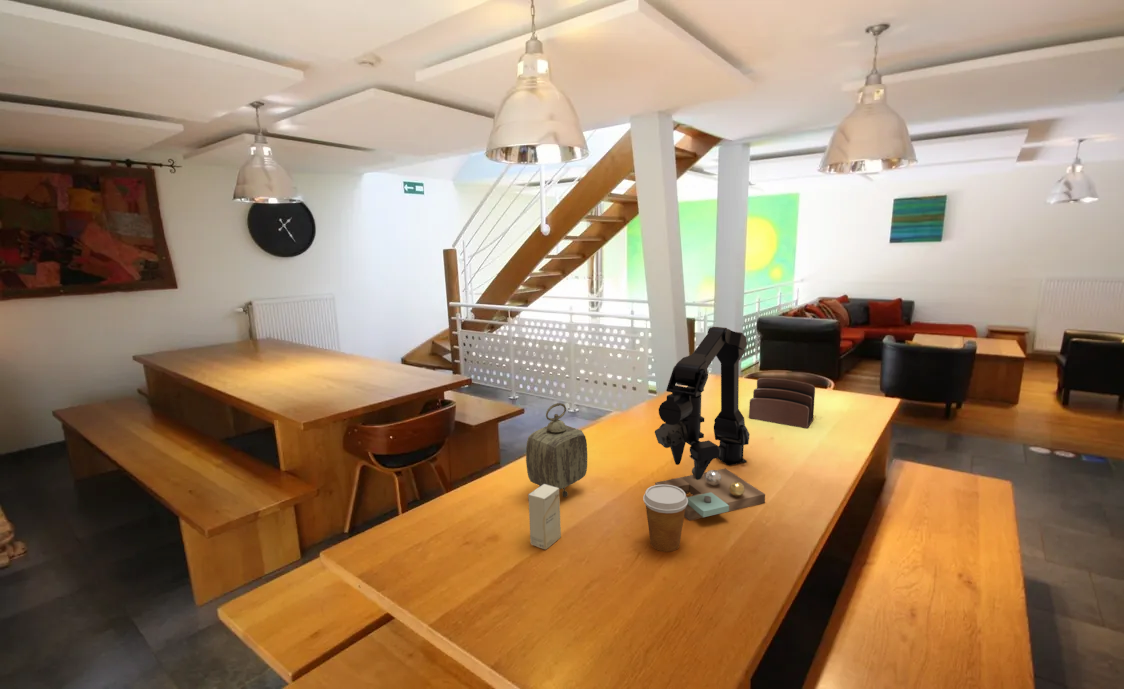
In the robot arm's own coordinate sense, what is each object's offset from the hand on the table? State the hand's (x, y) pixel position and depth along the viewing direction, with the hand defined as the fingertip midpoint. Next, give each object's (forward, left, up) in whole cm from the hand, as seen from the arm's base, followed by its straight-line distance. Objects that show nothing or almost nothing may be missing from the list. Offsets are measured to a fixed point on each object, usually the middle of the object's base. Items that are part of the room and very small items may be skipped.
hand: (687, 471), depth 133 cm
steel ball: (-8, -1, -4) cm, 9 cm away
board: (-6, 0, -8) cm, 10 cm away
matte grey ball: (-7, -6, -4) cm, 10 cm away
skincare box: (+39, +3, -8) cm, 40 cm away
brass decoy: (-10, +6, -4) cm, 13 cm away
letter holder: (-63, -37, -8) cm, 73 cm away
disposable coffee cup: (+15, +14, -8) cm, 22 cm away
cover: (0, +8, -5) cm, 10 cm away
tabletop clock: (+29, -16, -8) cm, 34 cm away
